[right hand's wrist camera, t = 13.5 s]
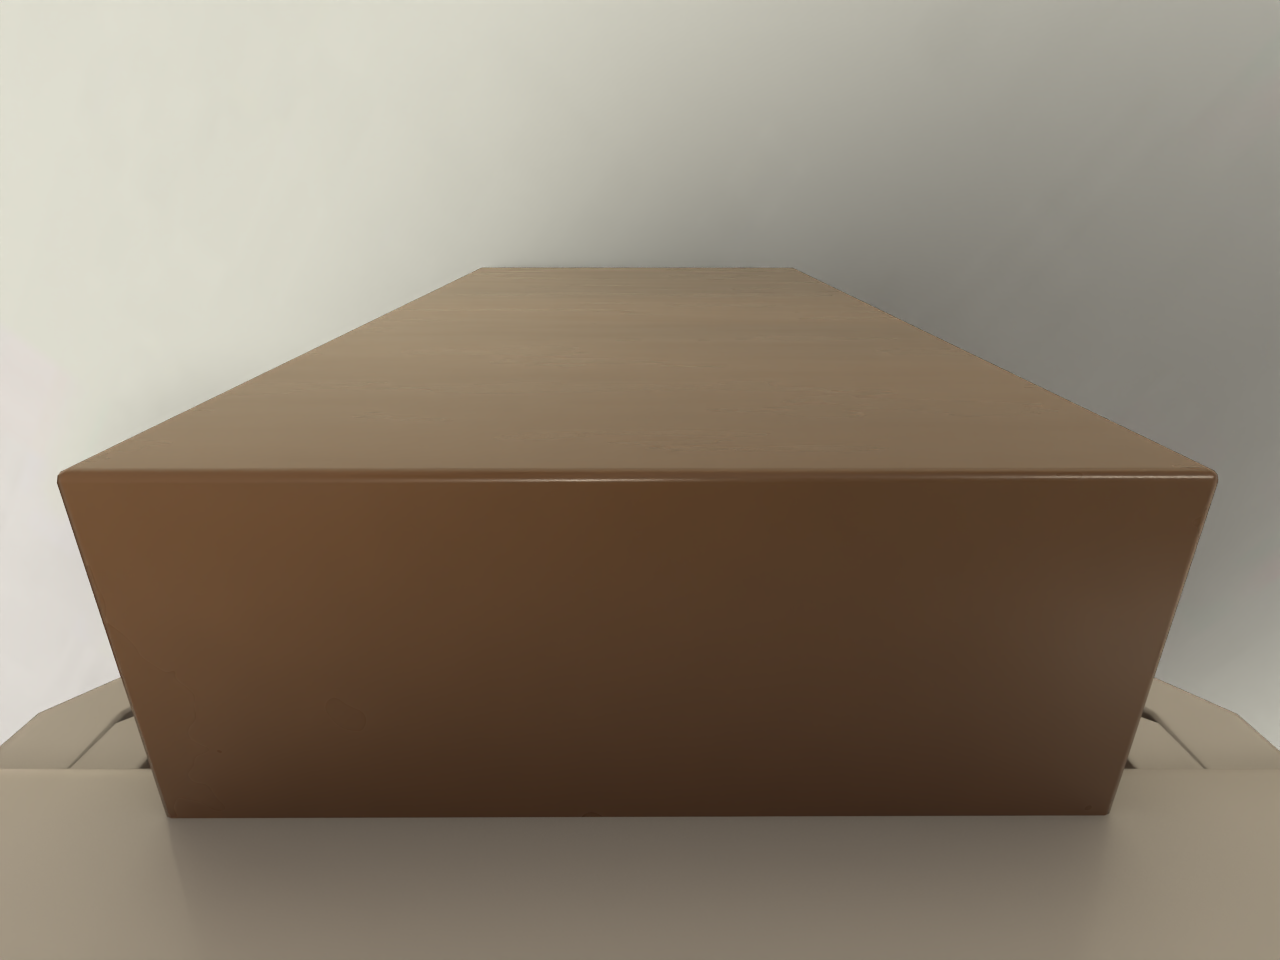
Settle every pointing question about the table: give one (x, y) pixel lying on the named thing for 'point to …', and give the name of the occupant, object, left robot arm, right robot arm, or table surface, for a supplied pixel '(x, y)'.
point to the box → (637, 565)
